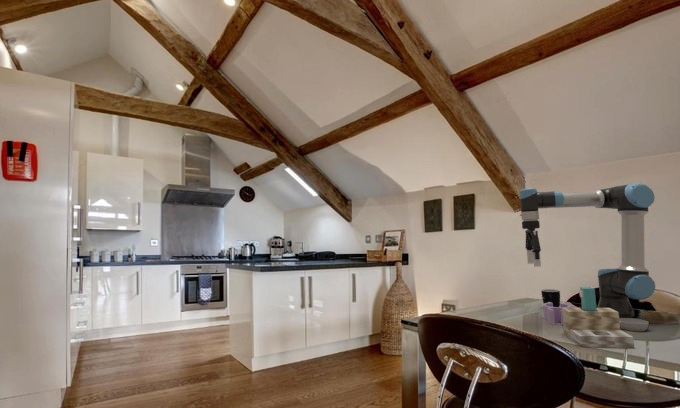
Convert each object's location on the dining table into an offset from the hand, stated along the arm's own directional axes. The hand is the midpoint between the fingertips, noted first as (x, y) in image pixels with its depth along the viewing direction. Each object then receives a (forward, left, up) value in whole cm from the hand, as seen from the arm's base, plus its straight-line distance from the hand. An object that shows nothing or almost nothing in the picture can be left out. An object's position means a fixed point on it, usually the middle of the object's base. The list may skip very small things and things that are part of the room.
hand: (534, 265), depth 179 cm
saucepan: (-33, +5, -28) cm, 44 cm away
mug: (-15, -34, -28) cm, 47 cm away
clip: (-11, -9, -28) cm, 32 cm away
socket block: (-15, +23, -28) cm, 40 cm away
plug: (-15, +18, -20) cm, 31 cm away
